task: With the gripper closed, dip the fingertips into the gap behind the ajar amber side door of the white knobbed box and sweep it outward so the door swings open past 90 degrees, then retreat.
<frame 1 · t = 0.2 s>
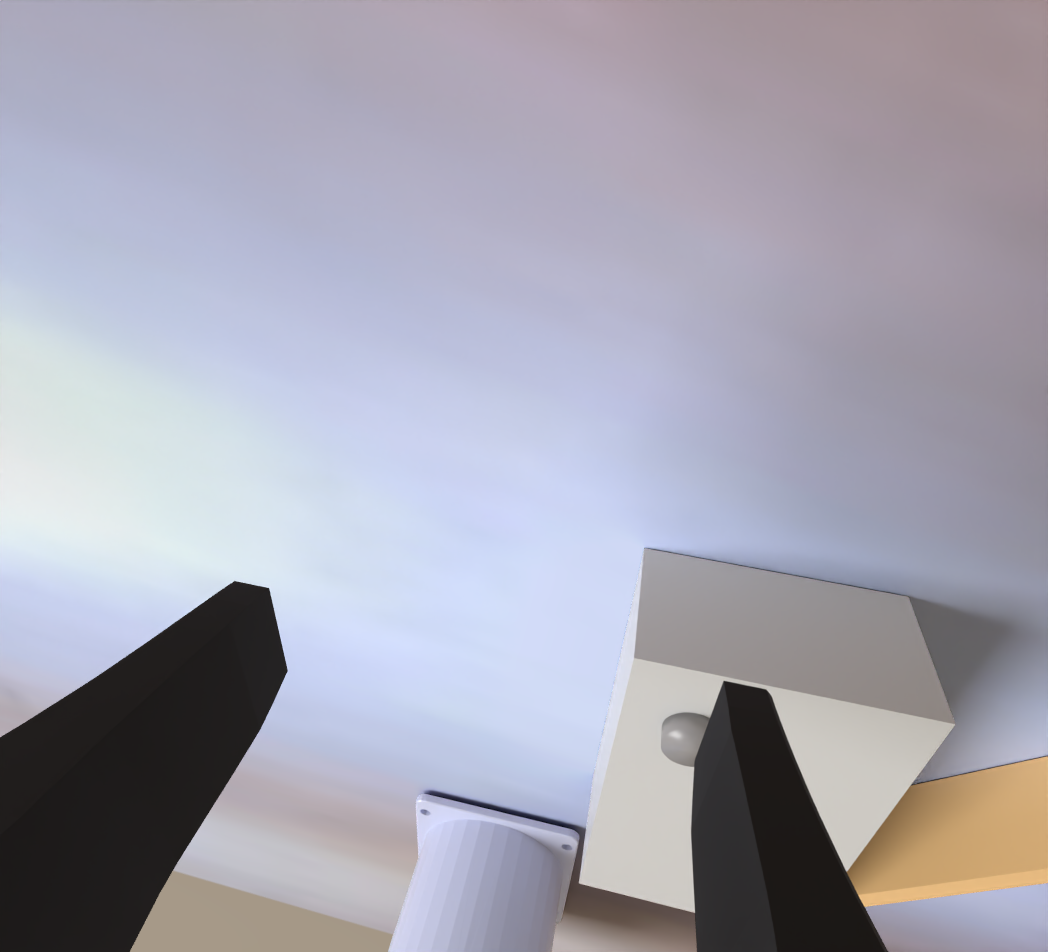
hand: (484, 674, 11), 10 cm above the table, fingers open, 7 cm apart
white knobbed box: (723, 700, 24), on the table
side door: (931, 841, 23), point 2 cm above the table, hinge at 45.0°
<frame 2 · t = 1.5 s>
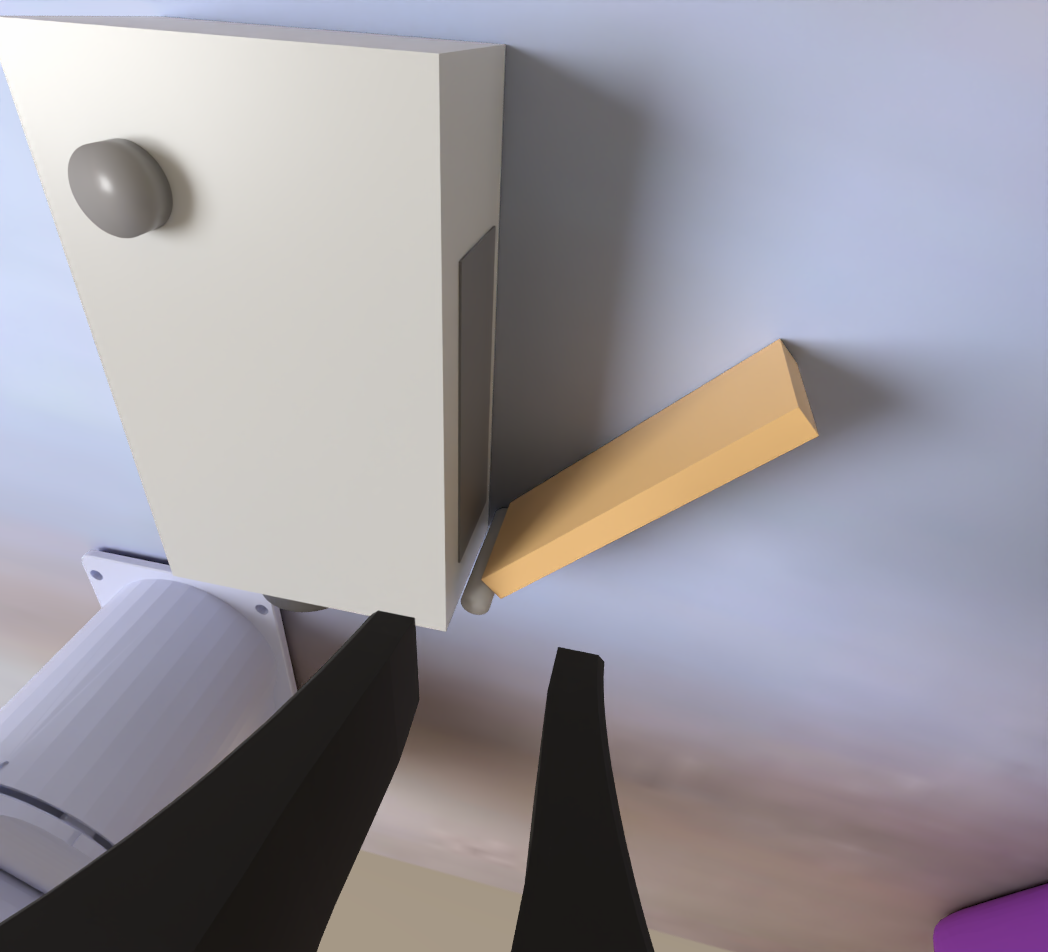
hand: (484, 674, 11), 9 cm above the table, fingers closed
white knobbed box: (352, 317, 18), on the table
side door: (617, 487, 17), point 2 cm above the table, hinge at 45.0°
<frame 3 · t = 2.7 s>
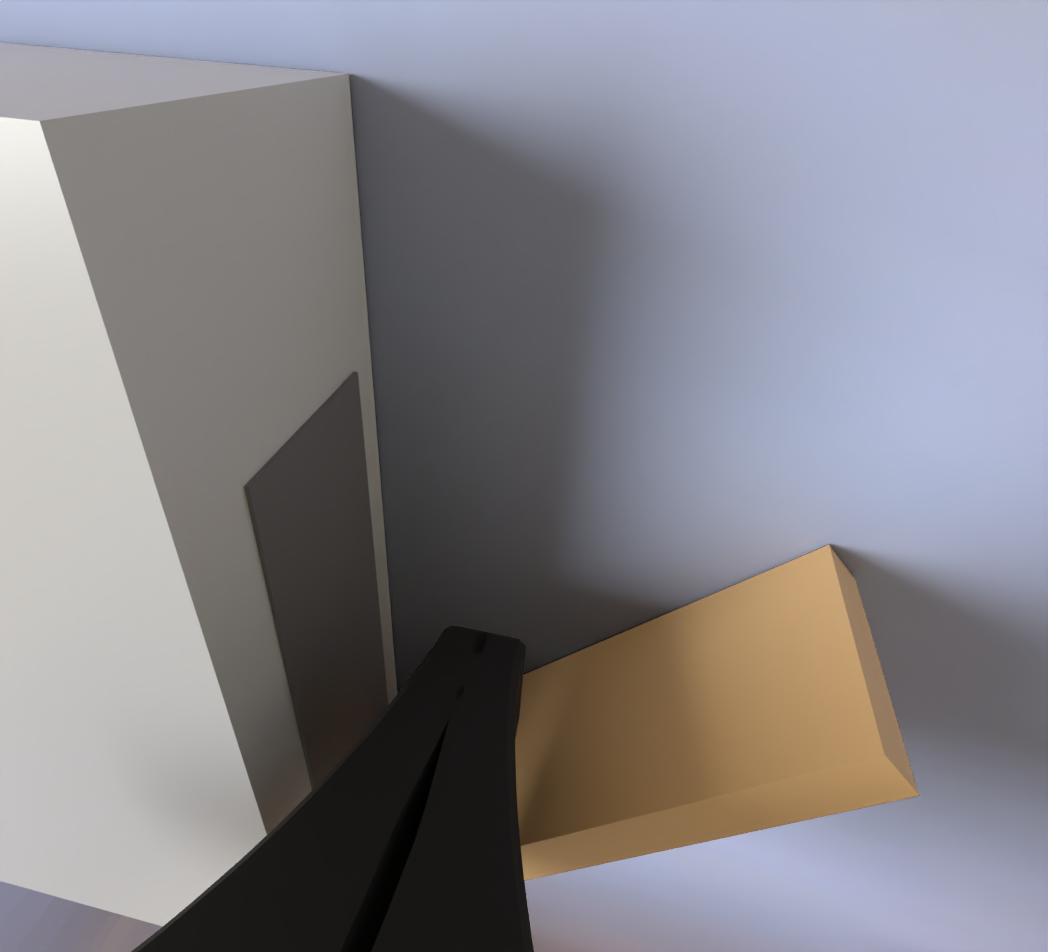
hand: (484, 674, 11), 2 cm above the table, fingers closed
white knobbed box: (171, 477, 12), on the table
side door: (571, 757, 11), point 2 cm above the table, hinge at 45.0°, touching gripper
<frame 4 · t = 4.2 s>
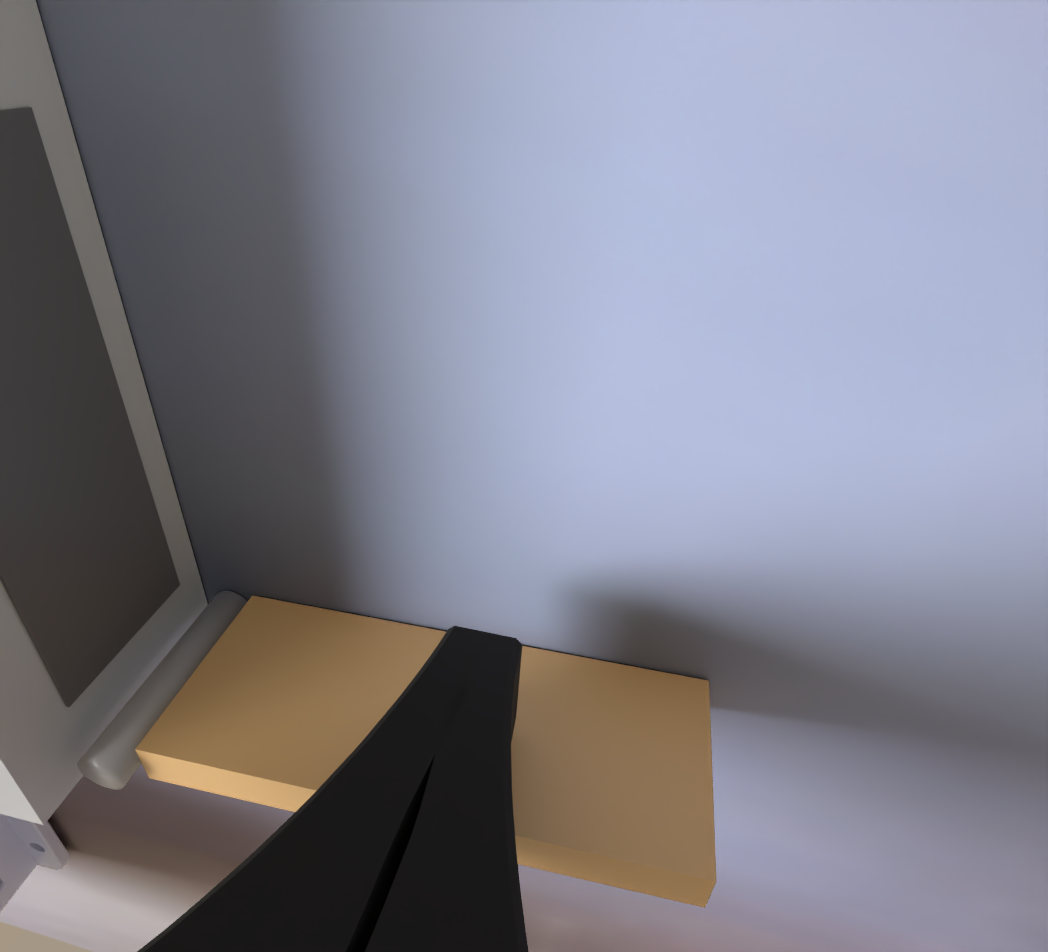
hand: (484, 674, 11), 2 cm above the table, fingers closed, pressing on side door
side door: (415, 729, 11), point 2 cm above the table, hinge at 88.7°, touching gripper
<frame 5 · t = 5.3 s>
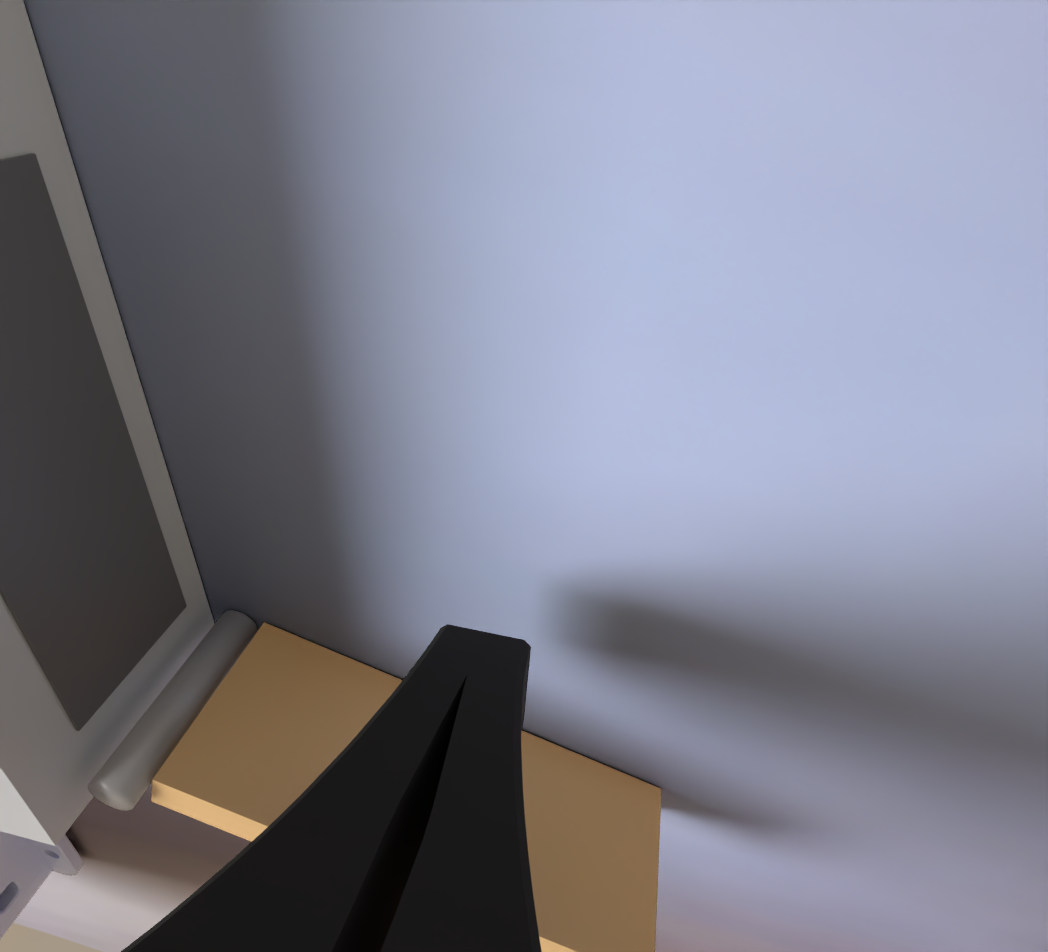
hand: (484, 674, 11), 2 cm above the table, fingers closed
side door: (409, 792, 13), point 2 cm above the table, hinge at 107.5°
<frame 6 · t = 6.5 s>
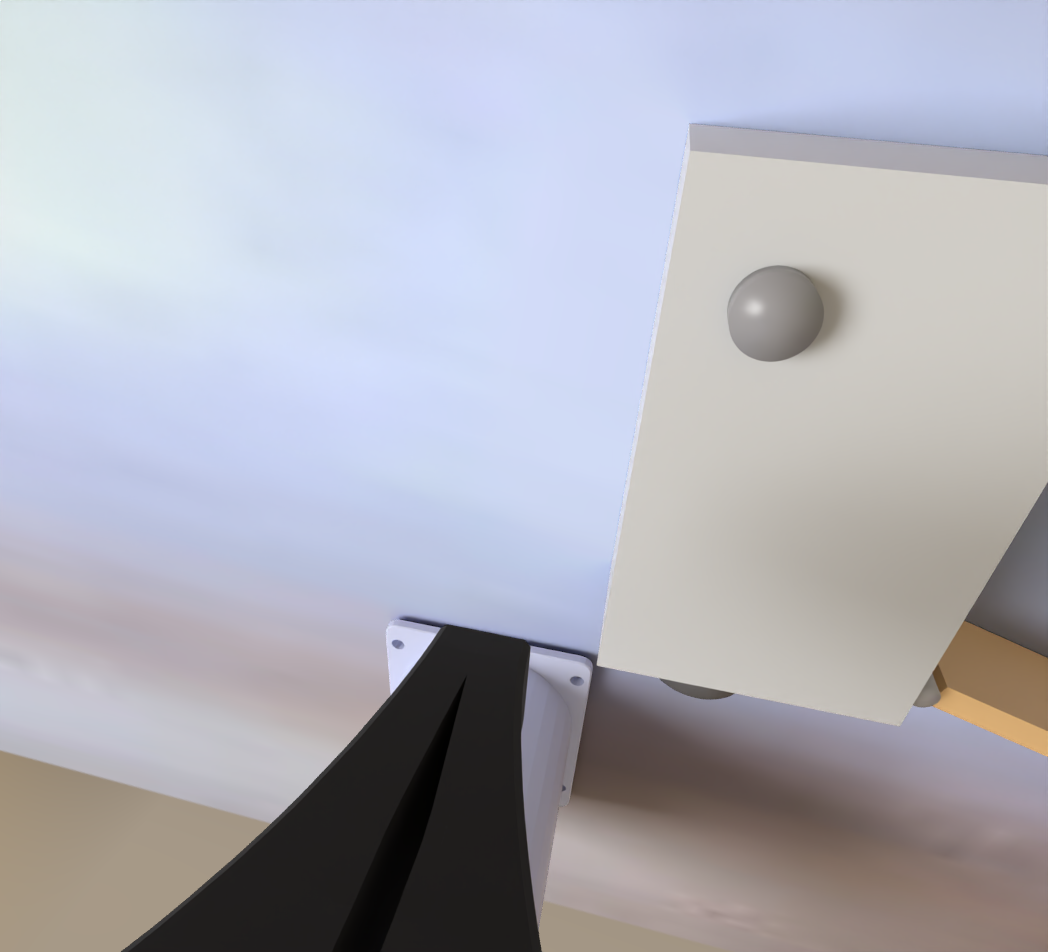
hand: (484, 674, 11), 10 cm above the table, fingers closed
white knobbed box: (790, 406, 18), on the table
side door: (1043, 705, 19), point 2 cm above the table, hinge at 107.6°
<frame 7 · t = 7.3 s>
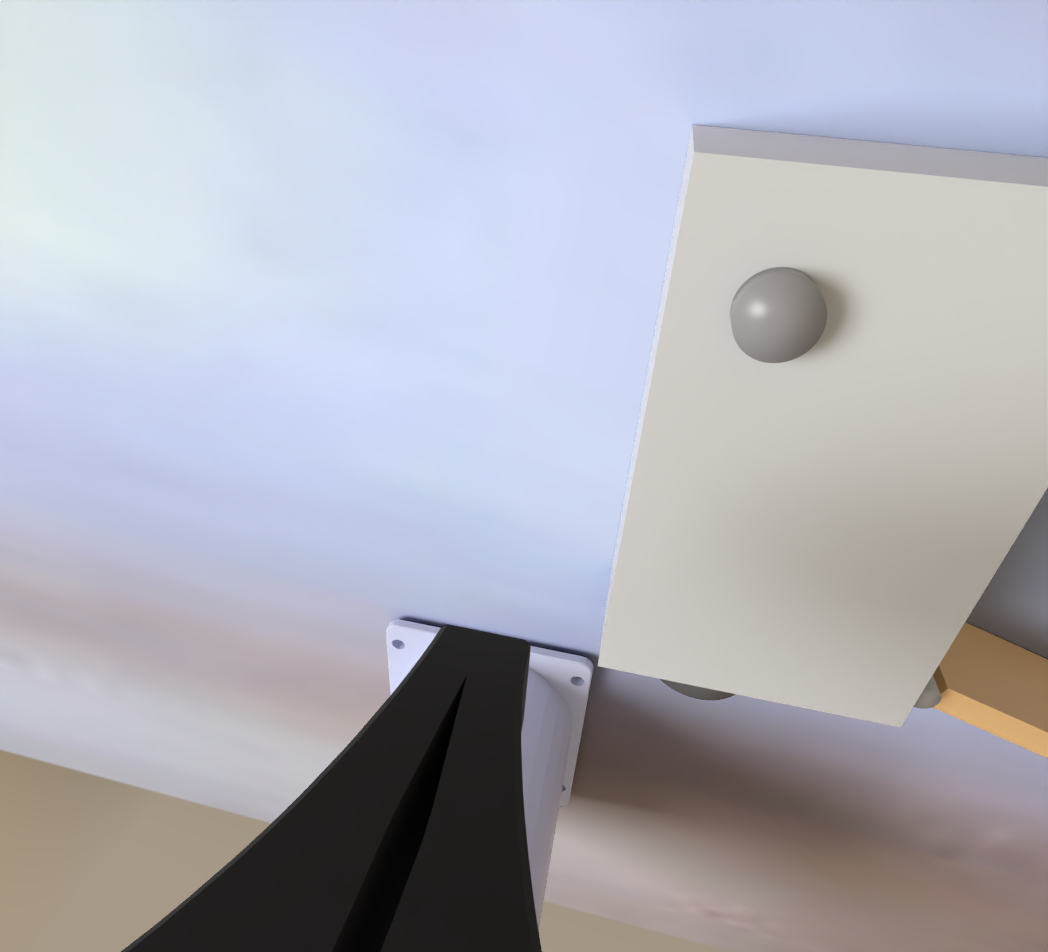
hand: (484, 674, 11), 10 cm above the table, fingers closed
white knobbed box: (792, 407, 18), on the table
side door: (1043, 706, 19), point 2 cm above the table, hinge at 107.6°
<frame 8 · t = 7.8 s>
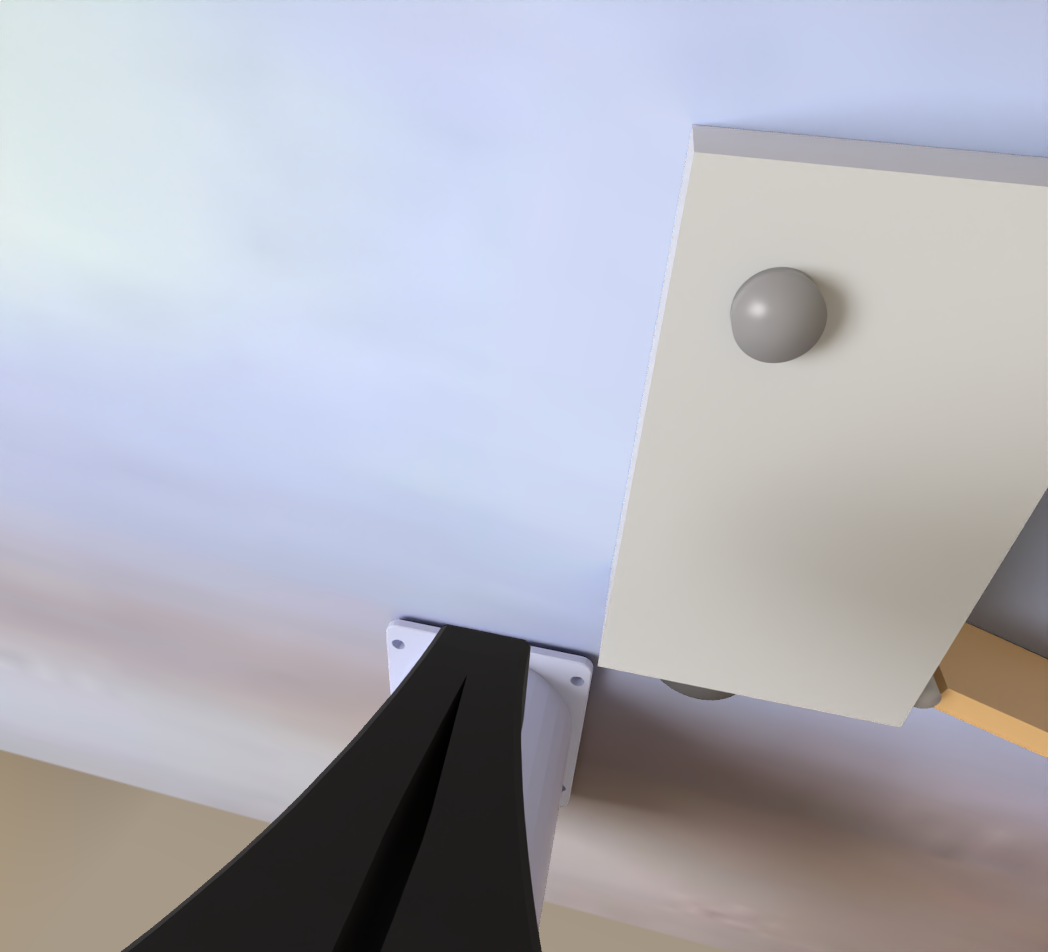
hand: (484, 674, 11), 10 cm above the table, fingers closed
white knobbed box: (792, 407, 18), on the table
side door: (1043, 706, 19), point 2 cm above the table, hinge at 107.6°
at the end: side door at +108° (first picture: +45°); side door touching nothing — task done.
